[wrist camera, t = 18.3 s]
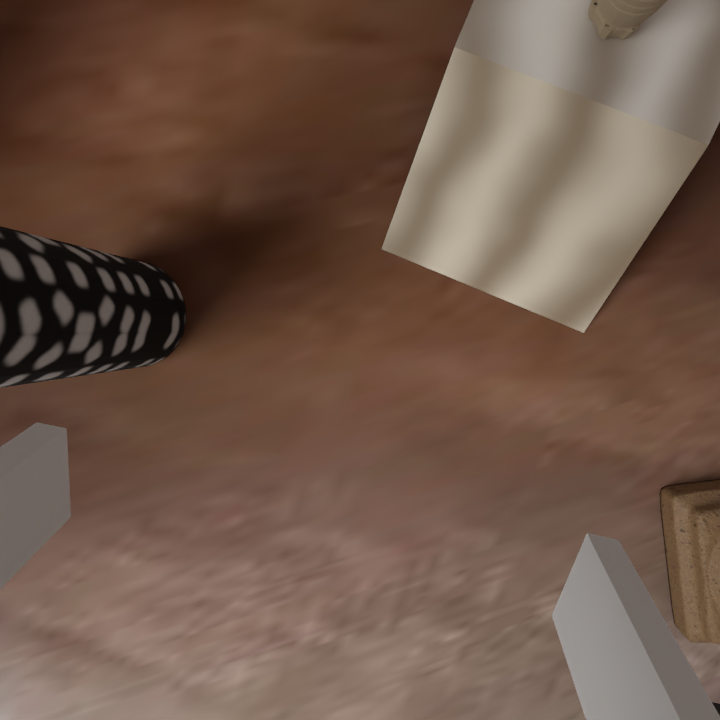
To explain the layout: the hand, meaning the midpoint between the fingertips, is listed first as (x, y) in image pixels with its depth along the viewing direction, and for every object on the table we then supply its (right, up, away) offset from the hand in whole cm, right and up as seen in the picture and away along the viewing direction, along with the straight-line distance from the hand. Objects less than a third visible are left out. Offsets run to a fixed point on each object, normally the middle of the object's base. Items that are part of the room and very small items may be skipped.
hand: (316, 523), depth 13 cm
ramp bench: (+14, +19, +25) cm, 35 cm away
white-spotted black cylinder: (-17, +8, +27) cm, 32 cm away
